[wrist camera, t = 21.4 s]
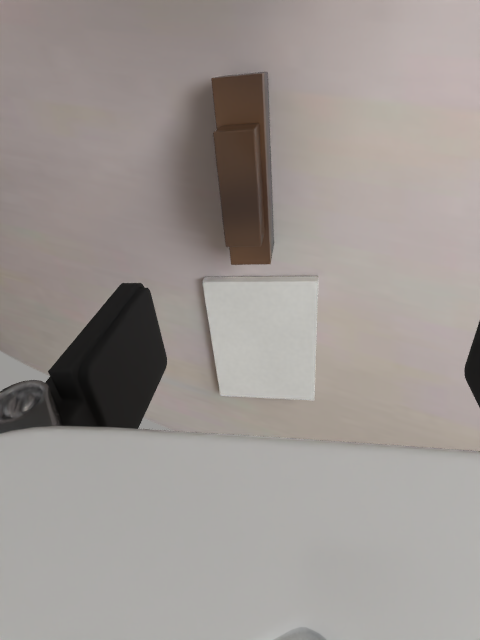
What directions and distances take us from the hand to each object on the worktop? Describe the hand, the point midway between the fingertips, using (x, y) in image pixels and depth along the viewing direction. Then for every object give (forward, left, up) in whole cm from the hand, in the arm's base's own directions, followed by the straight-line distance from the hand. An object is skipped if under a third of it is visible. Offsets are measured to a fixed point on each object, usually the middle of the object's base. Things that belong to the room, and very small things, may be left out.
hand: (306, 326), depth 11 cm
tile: (+16, -4, -20) cm, 26 cm away
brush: (0, -4, -20) cm, 21 cm away
